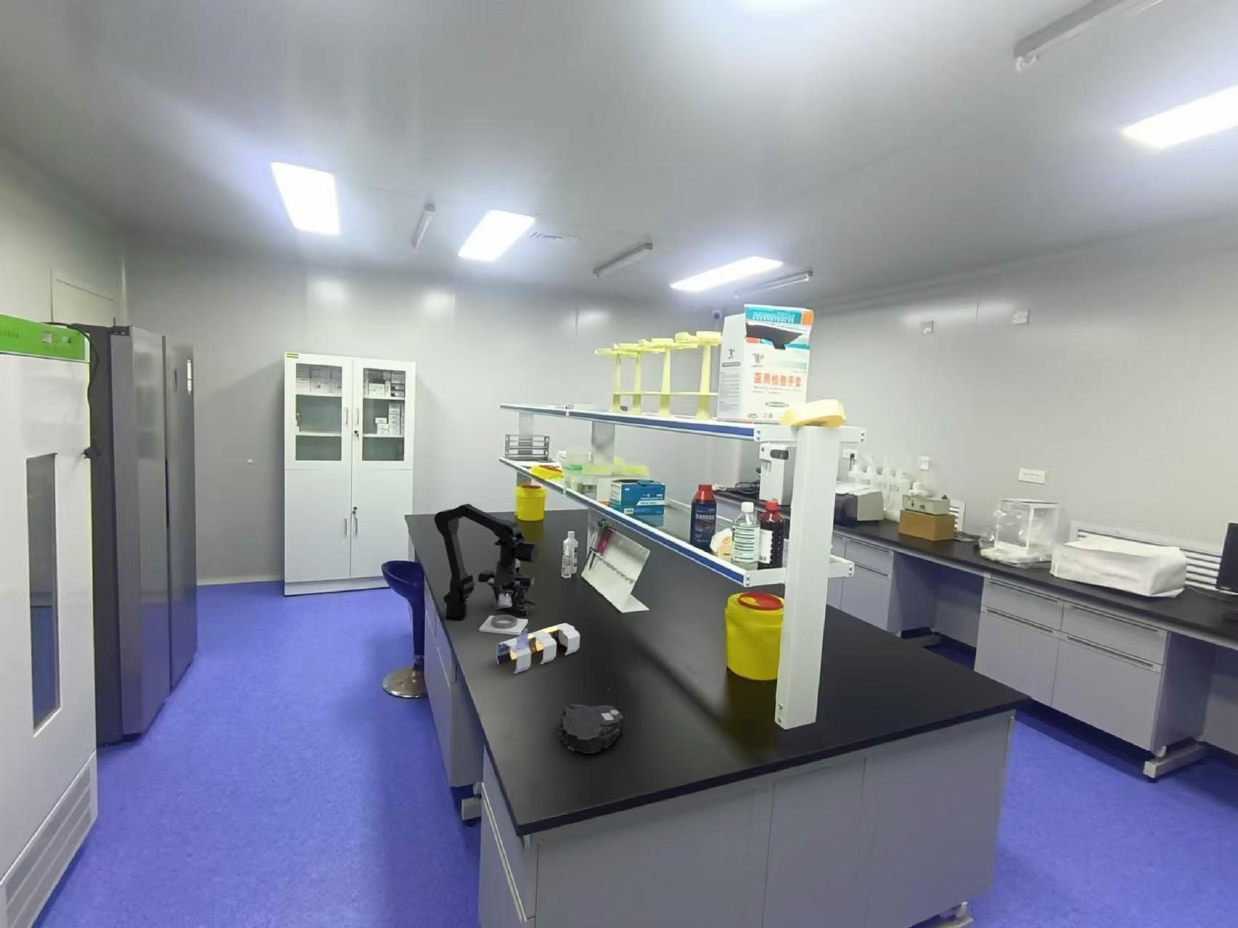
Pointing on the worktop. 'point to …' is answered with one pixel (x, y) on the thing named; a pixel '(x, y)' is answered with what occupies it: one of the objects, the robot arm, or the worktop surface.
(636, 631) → the worktop surface
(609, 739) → the rock sample
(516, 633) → the barrel plate
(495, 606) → the vintage camera
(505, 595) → the metal cylinder
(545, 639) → the diorama
